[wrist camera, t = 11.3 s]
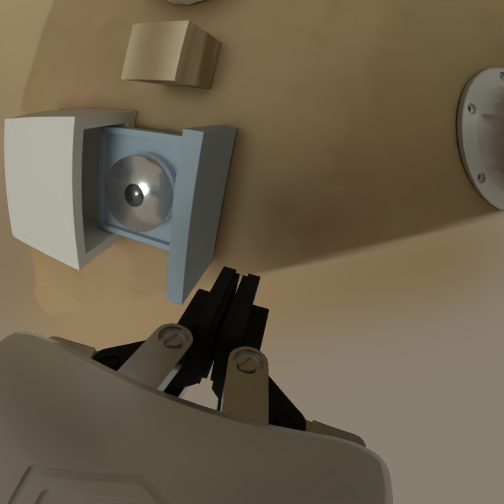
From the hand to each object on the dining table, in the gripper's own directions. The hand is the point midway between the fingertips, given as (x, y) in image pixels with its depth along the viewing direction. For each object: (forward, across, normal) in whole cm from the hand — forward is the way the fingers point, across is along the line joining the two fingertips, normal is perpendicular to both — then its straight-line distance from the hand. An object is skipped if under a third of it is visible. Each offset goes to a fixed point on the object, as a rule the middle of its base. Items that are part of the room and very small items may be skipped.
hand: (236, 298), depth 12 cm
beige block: (+11, +9, -11) cm, 18 cm away
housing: (+11, +19, -1) cm, 22 cm away
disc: (+9, +10, -1) cm, 13 cm away
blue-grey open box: (+11, +9, -1) cm, 14 cm away
